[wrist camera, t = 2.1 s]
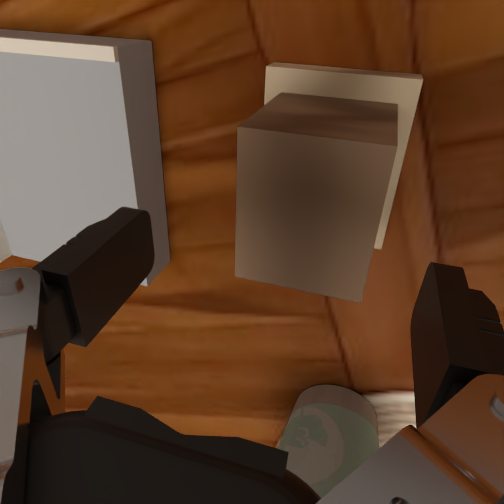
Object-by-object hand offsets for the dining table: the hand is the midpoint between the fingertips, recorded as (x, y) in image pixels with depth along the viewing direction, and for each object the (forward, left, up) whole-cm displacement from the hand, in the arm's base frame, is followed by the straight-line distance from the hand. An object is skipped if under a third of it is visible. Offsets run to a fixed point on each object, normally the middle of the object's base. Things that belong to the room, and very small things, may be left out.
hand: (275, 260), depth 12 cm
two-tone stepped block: (0, 0, -11) cm, 11 cm away
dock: (+15, +2, -10) cm, 18 cm away
